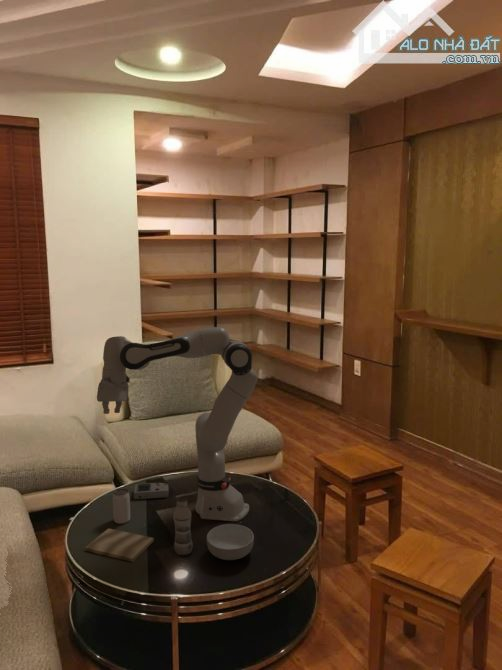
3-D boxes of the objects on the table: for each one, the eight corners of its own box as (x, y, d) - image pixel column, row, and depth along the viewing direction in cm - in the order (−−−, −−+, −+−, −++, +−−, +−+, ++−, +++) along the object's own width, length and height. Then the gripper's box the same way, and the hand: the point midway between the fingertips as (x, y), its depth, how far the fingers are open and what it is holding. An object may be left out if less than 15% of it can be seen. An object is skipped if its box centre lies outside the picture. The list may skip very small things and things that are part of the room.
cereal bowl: (249, 570, 176) (249, 551, 175) (201, 566, 179) (201, 546, 178) (257, 542, 193) (257, 524, 192) (213, 539, 196) (212, 521, 194)
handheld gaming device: (168, 498, 229) (167, 490, 228) (133, 500, 227) (133, 492, 226) (168, 489, 237) (168, 481, 237) (135, 491, 236) (135, 483, 235)
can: (133, 517, 212) (132, 489, 210) (124, 525, 206) (123, 496, 204) (119, 515, 214) (118, 487, 212) (110, 522, 208) (109, 494, 206)
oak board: (153, 540, 195) (153, 537, 194) (132, 561, 182) (132, 558, 181) (108, 531, 202) (108, 528, 201) (85, 550, 189) (84, 547, 188)
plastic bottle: (185, 560, 182) (183, 506, 179) (170, 554, 186) (168, 501, 183) (196, 551, 188) (195, 498, 185) (182, 545, 191) (180, 494, 188)
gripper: (109, 377, 195) (107, 414, 193) (131, 378, 215) (129, 412, 213) (93, 376, 196) (91, 414, 194) (117, 378, 216) (115, 412, 214)
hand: (111, 413), depth 204 cm, fingers open, 8 cm apart
